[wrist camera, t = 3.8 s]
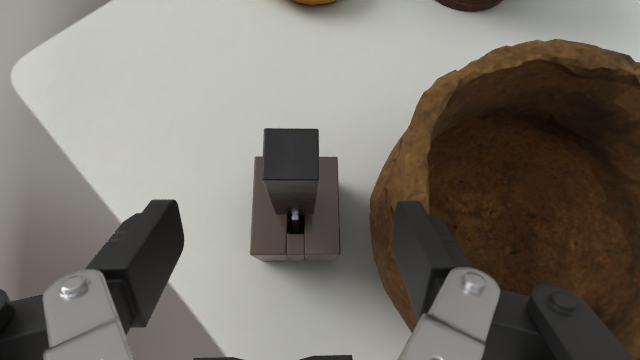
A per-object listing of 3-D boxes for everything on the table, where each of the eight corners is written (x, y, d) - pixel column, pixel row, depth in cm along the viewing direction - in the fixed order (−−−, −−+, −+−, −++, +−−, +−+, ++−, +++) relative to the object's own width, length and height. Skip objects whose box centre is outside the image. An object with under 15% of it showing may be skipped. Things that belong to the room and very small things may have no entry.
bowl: (444, 104, 33) (548, -30, 19) (607, 242, 30) (881, 206, 16) (305, 239, 29) (307, 196, 15) (479, 419, 26) (699, 588, 11)
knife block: (260, 261, 28) (249, 255, 23) (263, 180, 30) (254, 156, 25) (333, 260, 29) (340, 254, 23) (331, 180, 31) (337, 156, 25)
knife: (283, 236, 29) (261, 186, 14) (283, 202, 30) (264, 121, 15) (311, 236, 29) (319, 187, 14) (311, 202, 30) (318, 122, 15)
